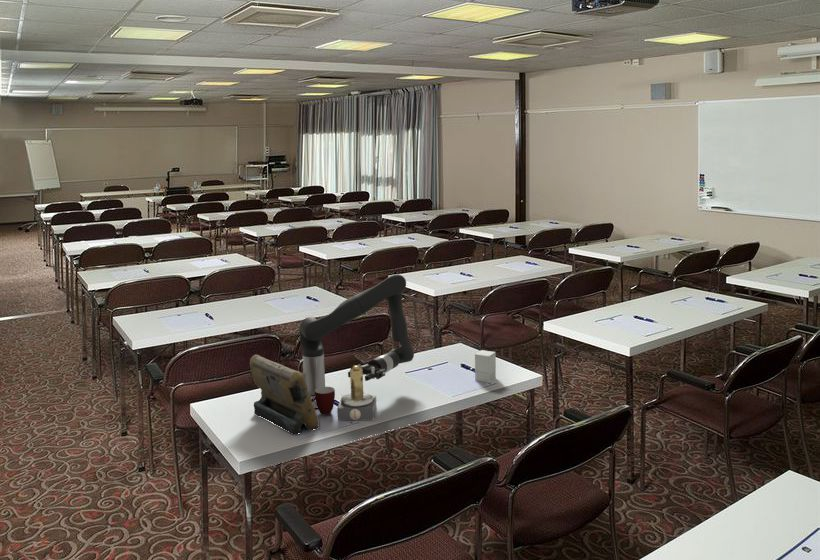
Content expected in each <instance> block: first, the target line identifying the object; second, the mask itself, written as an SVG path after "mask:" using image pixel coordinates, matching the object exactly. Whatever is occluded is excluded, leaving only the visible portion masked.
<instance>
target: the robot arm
mask: <svg viewBox="0 0 820 560" xmlns="http://www.w3.org/2000/svg"><path fill="white" fill-rule="evenodd" d="M406 288H407V279H406V278H405V277H404V276H403V275H402V274H397V273H396V274H391V275H389V276H388V277H387V278H385V279H383V281H381V282H379V283H378V284H376V285H374V286H372V287H370V288H367V289H366V290H363V291H361V292H359V293H356V294H355V295H352V296H351V297H349V298H347V299H345V300H344V301H342V302H341V303H340V304H339V305H337V306H336V308H335V309H334V310H333V311H331V312H330V313H329V314H327V315H325V316H323V317H320V318H318V319H317V318H316V317H313V316H309V317H306V318H304V319H303V320H302V321H301V323H300V325H299V338H300V339H299V340H300V342H299V343H300V348H301V353H302V369H303V370H302V372H301V373H302V375H303V377H304V380H305V383H306V384H307V388H308V393H309V395H310V396H315V389H317V388H319V387H326V376H325V375H326V373H325V353H324V351H325V350H324V346H323V343H322V339H323V338H325V337H327V335H329V334H331V332H333V331H335V330H336V329H338V328H340V327H341V326H344V325H346V324H348V323H349V322H351V321H353V320H355V319H357V318H359V317H361V316H363V315H364V314H367V312H369V311H370V310H372V309H373V308H375V307H376V306H377V305H378V304H380V303H381V302H382V301H384V300H387V304H388V309H389V310H388V311H389V317H390V318H389V319H390V327H391V335H392V336H391V337H392V341H393V342H395V343H399V344H400V347H395V348H393V349H391V350H390V351H389V352H387V353H385V354H382V355H379V356H376V357H375V358H373V359H370V360H369V361H368V363H367V364H365V365H362V364H361V363H359V364H357V365H359V368H361V369H362V370H363V376H364V381H365V382H368V381H370V380H372V379H373V380H374V379H376V380H379V379H381V378H383V377H384V376H386V374H387V373H388V372H390V371H391V370H393V369H395V368H396V367H398V366H399V364H404V363H409V362H412V361H413V359H414V358H415V351H414V347H413V345H412V343H411V341H410V338H409V333H408V323H407V319H406V316H405V313H404V308H403V293H404V291H406ZM351 369H353V366H351V367H350V370H351ZM347 377H348V378H350V371H347Z"/></svg>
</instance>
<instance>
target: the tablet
mask: <svg viewBox="0 0 820 560" xmlns="http://www.w3.org/2000/svg"><path fill="white" fill-rule="evenodd" d="M249 366H250V367H249V368H250V374H251V376H252V378H253V382H254V385H255V386H258V387H259V388H260V390H261V391H260V394H261V395H260V396H261V397H260V398H259V400H257V401H254V403H253V408H254V410H253V411H254V412H253V413H254V415H255V414H256V415H257V417H258V416H261V417H263V418H265V419H267V420H269V421H271V422H273V423H274V424H276V425H278V426H280V427H282V428H283V429H285V430H287V431H289V432H290V433H289V432H288V433H289V434H291V433H292V435H294V434H298V433H302V429H301V428H302V426H303V424H304V426H305V427H306V429H308V430H309V431H311V430H313V429H316V430H318V429H319V428H318V427H319V417H318V414H317V411H316V410H315V409H314V408H315V407H314V404H313V403H312V401H311V399H312V396H311V395H309V393H308V388H307V384H306V383H305V380H304V377H303V375H302V373H303V372H301V371H298V370H295V369H293V368H290V367H287V366H285V365H284V364H280V363H279V362H275V361H272V360H270V359H267V358H265V357H263V356H261V355H259V354H254V355H252V356H251V358H250V360H249ZM256 415H255V416H256ZM317 428H318V429H317ZM283 429H282V430H283ZM285 430H284V431H285ZM287 431H286V432H287ZM313 431H314V430H313Z"/></svg>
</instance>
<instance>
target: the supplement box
mask: <svg viewBox="0 0 820 560" xmlns="http://www.w3.org/2000/svg"><path fill="white" fill-rule="evenodd" d="M496 363H497V362H496V351H489V350H484V349H481V350H479V351H478V352H476V353H474V375H475V376H474V377H475V380H474V381H477V380H478V382H484V383H491V382H492V381H494V380H495V379H496V377H497V373H496V371H497V370H496V369H497V365H496Z"/></svg>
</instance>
